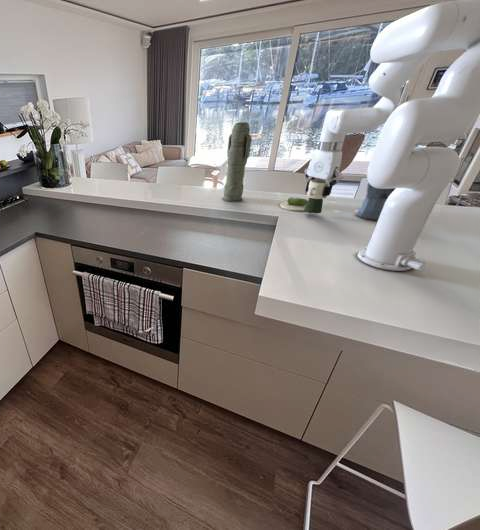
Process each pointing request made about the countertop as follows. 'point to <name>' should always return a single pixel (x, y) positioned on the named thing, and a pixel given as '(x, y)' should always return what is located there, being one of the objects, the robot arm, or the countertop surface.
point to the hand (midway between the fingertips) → (317, 193)
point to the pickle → (297, 201)
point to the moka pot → (374, 202)
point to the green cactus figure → (237, 161)
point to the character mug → (315, 196)
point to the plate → (291, 206)
